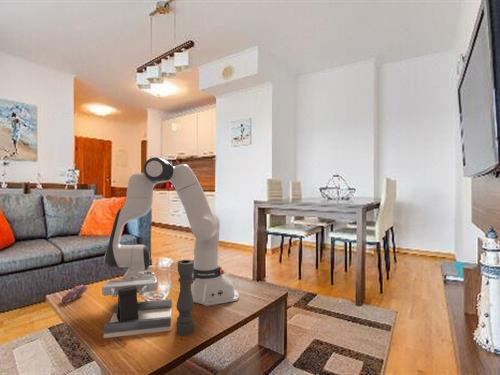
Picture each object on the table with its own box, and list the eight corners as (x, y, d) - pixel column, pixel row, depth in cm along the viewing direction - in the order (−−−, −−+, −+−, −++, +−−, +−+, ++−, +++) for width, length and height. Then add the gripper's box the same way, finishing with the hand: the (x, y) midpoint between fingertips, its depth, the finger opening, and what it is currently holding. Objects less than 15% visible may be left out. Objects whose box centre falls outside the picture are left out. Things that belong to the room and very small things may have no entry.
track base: (171, 307, 120) (171, 305, 120) (170, 330, 102) (170, 327, 102) (115, 312, 115) (115, 310, 115) (103, 338, 97) (103, 335, 97)
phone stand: (138, 322, 105) (138, 290, 105) (121, 327, 102) (121, 294, 102) (132, 313, 113) (133, 283, 112) (116, 317, 109) (116, 286, 109)
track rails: (171, 306, 119) (171, 299, 119) (170, 326, 103) (170, 318, 103) (114, 311, 114) (114, 304, 114) (104, 333, 98) (104, 324, 97)
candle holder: (177, 337, 98) (178, 265, 97) (174, 328, 103) (175, 260, 103) (195, 333, 100) (196, 263, 100) (191, 325, 106) (192, 258, 105)
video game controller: (67, 306, 123) (74, 293, 122) (59, 301, 124) (65, 287, 123) (84, 297, 133) (90, 285, 132) (77, 292, 133) (83, 280, 133)
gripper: (106, 275, 117) (97, 288, 103) (158, 272, 122) (156, 283, 109) (106, 290, 117) (97, 305, 104) (158, 286, 122) (156, 299, 109)
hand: (127, 293), depth 106 cm, fingers open, 8 cm apart
